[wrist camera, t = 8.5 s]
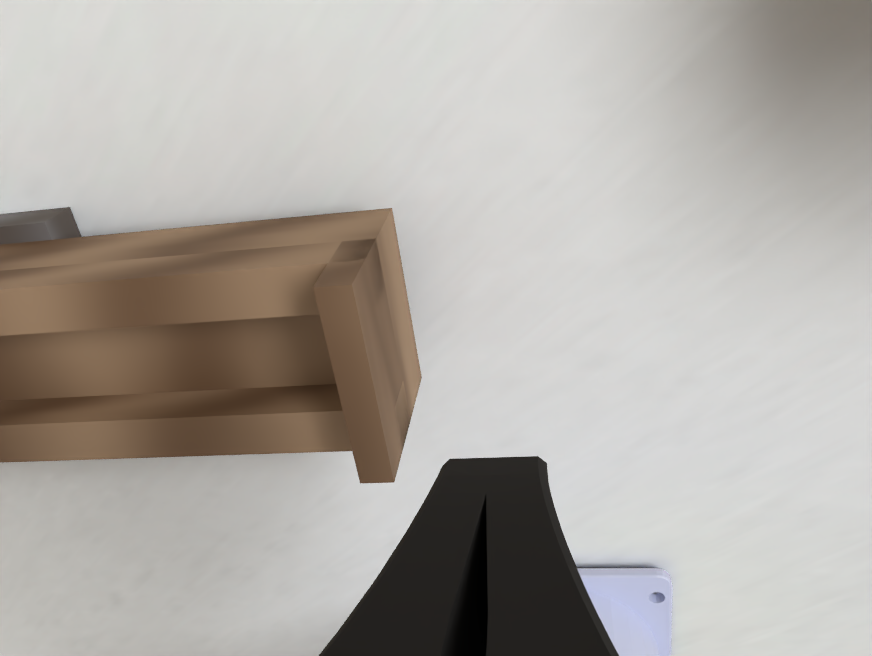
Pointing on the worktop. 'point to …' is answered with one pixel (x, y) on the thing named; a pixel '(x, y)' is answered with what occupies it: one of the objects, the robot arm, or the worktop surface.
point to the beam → (206, 340)
